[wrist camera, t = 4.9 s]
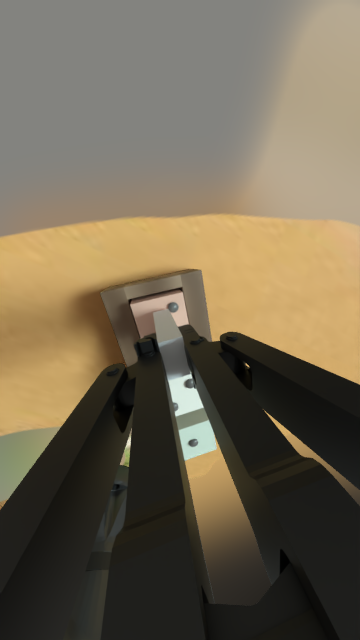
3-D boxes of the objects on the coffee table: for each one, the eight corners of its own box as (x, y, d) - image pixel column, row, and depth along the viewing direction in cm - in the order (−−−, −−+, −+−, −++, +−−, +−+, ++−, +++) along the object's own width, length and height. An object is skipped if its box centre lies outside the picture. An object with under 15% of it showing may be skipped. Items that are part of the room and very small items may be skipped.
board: (155, 422, 27) (156, 447, 23) (108, 287, 20) (99, 292, 16) (213, 403, 28) (224, 424, 24) (191, 268, 21) (201, 270, 17)
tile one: (170, 425, 24) (176, 465, 20) (162, 399, 23) (167, 435, 18) (203, 414, 25) (217, 450, 20) (198, 388, 23) (211, 420, 18)
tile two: (159, 387, 22) (163, 422, 17) (149, 355, 20) (150, 383, 15) (195, 376, 23) (209, 407, 18) (189, 344, 21) (202, 368, 16)
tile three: (144, 332, 22) (144, 352, 17) (133, 295, 20) (130, 305, 15) (182, 323, 22) (192, 339, 18) (174, 285, 21) (183, 292, 16)
